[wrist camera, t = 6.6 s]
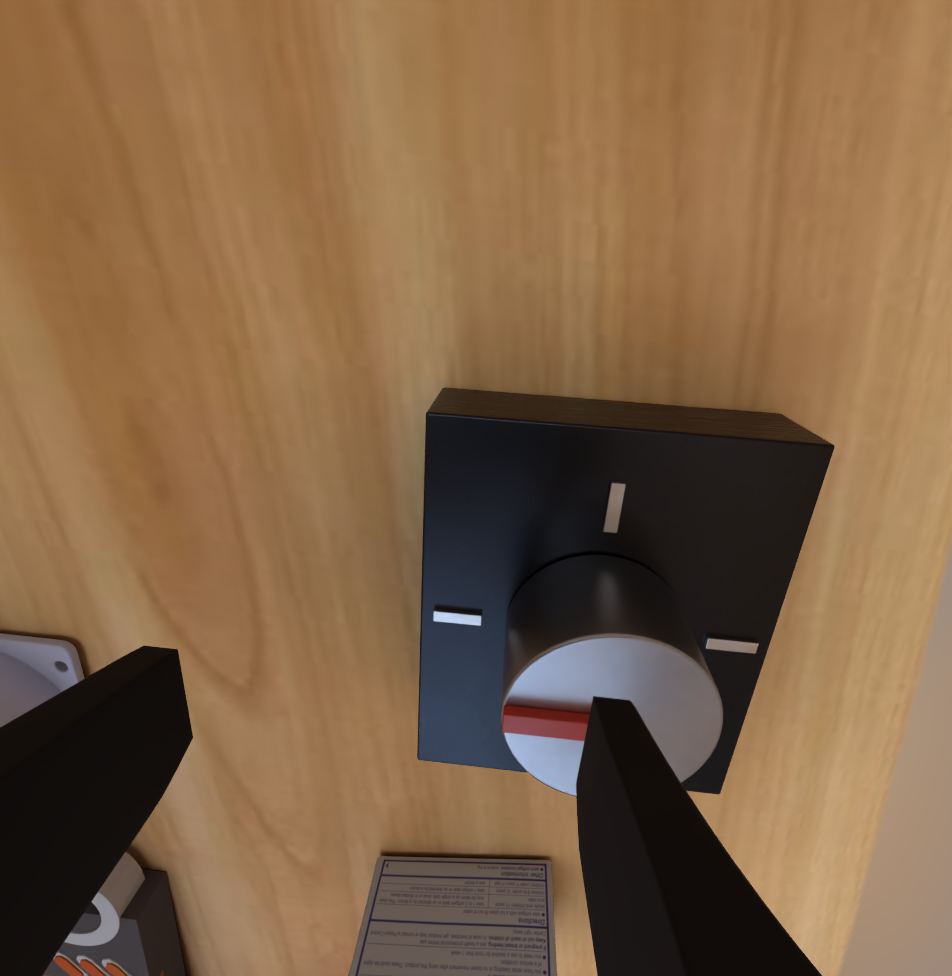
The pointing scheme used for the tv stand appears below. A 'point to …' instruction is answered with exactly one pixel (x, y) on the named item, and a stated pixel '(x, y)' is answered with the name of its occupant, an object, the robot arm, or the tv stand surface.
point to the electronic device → (124, 929)
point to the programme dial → (602, 667)
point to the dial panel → (602, 539)
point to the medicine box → (457, 918)
